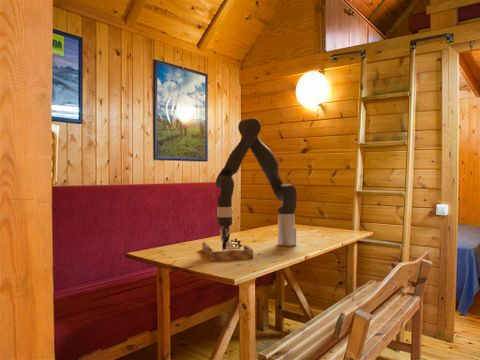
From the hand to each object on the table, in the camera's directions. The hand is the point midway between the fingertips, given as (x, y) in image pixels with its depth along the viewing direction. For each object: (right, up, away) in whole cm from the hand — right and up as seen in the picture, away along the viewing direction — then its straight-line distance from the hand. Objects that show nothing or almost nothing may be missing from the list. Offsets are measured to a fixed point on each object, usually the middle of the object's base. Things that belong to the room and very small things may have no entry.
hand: (224, 250), depth 184 cm
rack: (+1, -1, -2) cm, 2 cm away
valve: (+4, -2, -2) cm, 4 cm away
